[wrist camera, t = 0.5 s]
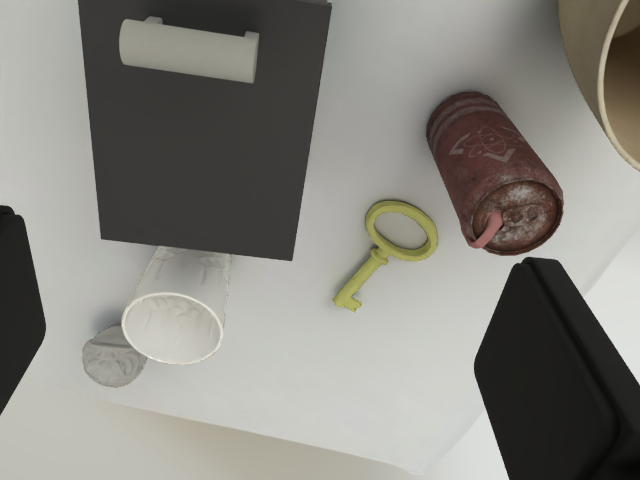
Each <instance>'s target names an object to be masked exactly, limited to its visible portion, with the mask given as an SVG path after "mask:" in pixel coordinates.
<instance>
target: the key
mask: <svg viewBox="0 0 640 480" xmlns="http://www.w3.org/2000/svg"><path fill="white" fill-rule="evenodd" d="M386 212H396V213H401V214H404V215H406V216H408V217H410V218H412V219H413V220H415V221H416V222H417V223H418V224H419V225H420V226H421V227H422V228H423V229H424V231H425V232H426V234H427V237H428V241H427V243H426V244H425V245H424V246H423V247H421V248H419V249H416V250H409V249H403V248H400V247H397V246H395V245H393V244H391V243H389V242H388V241H386V240H385V239H384V238H382V237H381V236H380V235H379V234H378V233H377V231H376V229H375V228H374V221H375V219H376V218H377V217H378V216H379V215H380V214H382V213H386ZM365 224H366V230H367V232H368V234H369V236H370V238H371V239H372V240H373V241H374V243H375V244H376V245H377V246H379V248H378V249H375V248H373V249H371V251H370V254H371V257H370V258H369V259H368V260H367V261H366V262H365V263H364V264H363V266H362V267H361V268H360V269H359V270H358V271H357V272H356V273H355V275H354V276H353V277H352V278H351V279H350V280H349V281H348V282H347V284H346V285H345V286H344V287H343V288H342V289H341V290H340V291H339V292H338V294H337V295H336V296H335V297H334V298H333V302H334V304H335V305H336V306H338V307H343V306H344V307H346V308H347V309H349V310H351V311H353V312H356V311H357V310H356V309H357V308H360V307H361V305H362V303H361V302H359V301H358V300H356V299H354V298H352V296H353V294H354V293H355V292H356V291H357V290H358V289H359V288H360V287H361V286H362V285H363V283H364V282H365V281H366V280H367V279H368V278H369V277H370V276H371V275H372V274H373V272H374V271H375V270H376V269H377V268H378V267H379V266H380V265H386V264H387V263H388V259H387V257H388V256H389V255H392V256H394V257H396V258H398V259H401V260H405V261H420V260H423V259H426V258H427V257H429V256H430V255H431V254H432V253H433V252H434V251H435V249H436V247H437V241H438V237H437V231H436V228H435V226H434V224H433V222H432V221H431V220H430V218H429V217H427V216H426V215H425V214H424V213H423V212H422V211H420V210H418V209H417V208H415V207H413V206H411V205H409V204H406V203H402V202H397V201H382V202H379V203H377V204H375V205H374V206H373V207H371V208H370V210H369V211H368V213H367V216H366V223H365Z"/></svg>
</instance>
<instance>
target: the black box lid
mask: <svg viewBox="0 0 640 480" xmlns="http://www.w3.org/2000/svg"><path fill="white" fill-rule="evenodd" d="M78 5H79V16H80V26H81V36H82V47H83V57H84V67H85V78H86V88H87V98H88V109H89V119H90V129H91V140H92V150H93V160H94V170H95V181H96V191H97V201H98V212H99V222H100V232H101V239H104V240H113V241H121V242H130V243H139V244H148V245H156V246H165V247H174V248H182V249H191V250H200V251H208V252H217V253H226V254H234V255H243V256H252V257H260V258H269V259H278V260H287V261H292V259H293V253H294V246H295V240H296V233H297V227H298V221H299V214H300V208H301V201H302V195H303V188H304V182H305V176H306V169H307V163H308V156H309V150H310V143H311V137H312V131H313V124H314V118H315V111H316V105H317V98H318V92H319V86H320V79H321V73H322V66H323V60H324V53H325V47H326V41H327V34H328V28H329V21H330V15H331V8H332V6H331V3H327V2H320V1H314V0H78Z"/></svg>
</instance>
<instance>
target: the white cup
mask: <svg viewBox="0 0 640 480" xmlns="http://www.w3.org/2000/svg"><path fill="white" fill-rule="evenodd" d="M230 266H231V258H230V254H226V253H217V252H208V251H200V250H191V249H182V248H174V247H165V246H158V248H157V250H156V252H155V254H154V255H153V257H152V258H151V260H150V262H149V263H148V265H147V267H146V269H145V271H144V273H143V275H142V276H141V278H140V280H139V283H138V285H137V287H136V289H135V291H134V293H133V295H132V297H131V299H130V301H129V303H128V305H127V307H126V309H125V311H124V313H123V316H122V322H121V324H122V330H123V333H124V336H125V338H126V339H127V341H128V342H129V343H130V345H131V346H132V347H133V348H134V349H136V350H137V351H138V352H140V353H141V354H143V355H144V356H146V357H148V358H150V359H153V360H155V361H158V362H162V363H167V364H175V365H184V364H192V363H196V362H199V361H202V360H204V359H206V358H208V357H210V356H211V355H212V354H214V353H215V352H216V351H217V349H218V348H219V346H220V345H221V342H222V339H223V332H224V324H225V316H226V308H227V301H228V289H229V278H230V276H229V273H230Z"/></svg>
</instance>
